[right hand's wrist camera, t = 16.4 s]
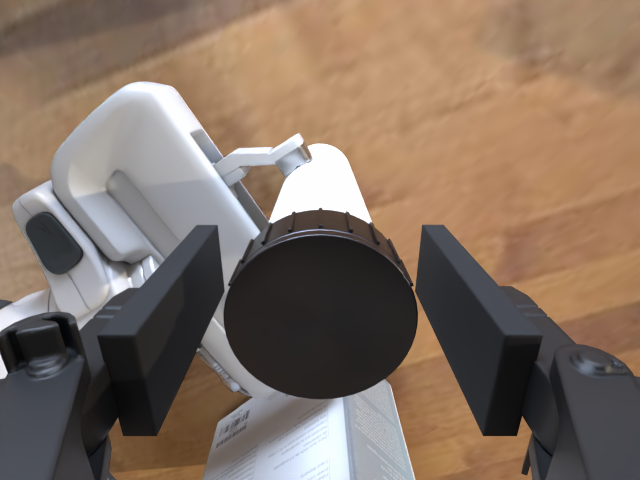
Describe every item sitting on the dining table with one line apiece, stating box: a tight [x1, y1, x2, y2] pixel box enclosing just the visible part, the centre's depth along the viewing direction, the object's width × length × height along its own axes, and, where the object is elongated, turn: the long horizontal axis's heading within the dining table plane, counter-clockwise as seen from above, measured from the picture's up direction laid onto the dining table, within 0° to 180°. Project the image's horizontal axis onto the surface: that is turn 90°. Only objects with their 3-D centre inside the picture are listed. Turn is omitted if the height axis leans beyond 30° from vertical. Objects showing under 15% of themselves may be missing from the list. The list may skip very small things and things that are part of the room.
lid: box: [223, 207, 418, 400], centre depth 11 cm, size 5×5×2 cm
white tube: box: [269, 144, 372, 223], centre depth 19 cm, size 4×4×18 cm
